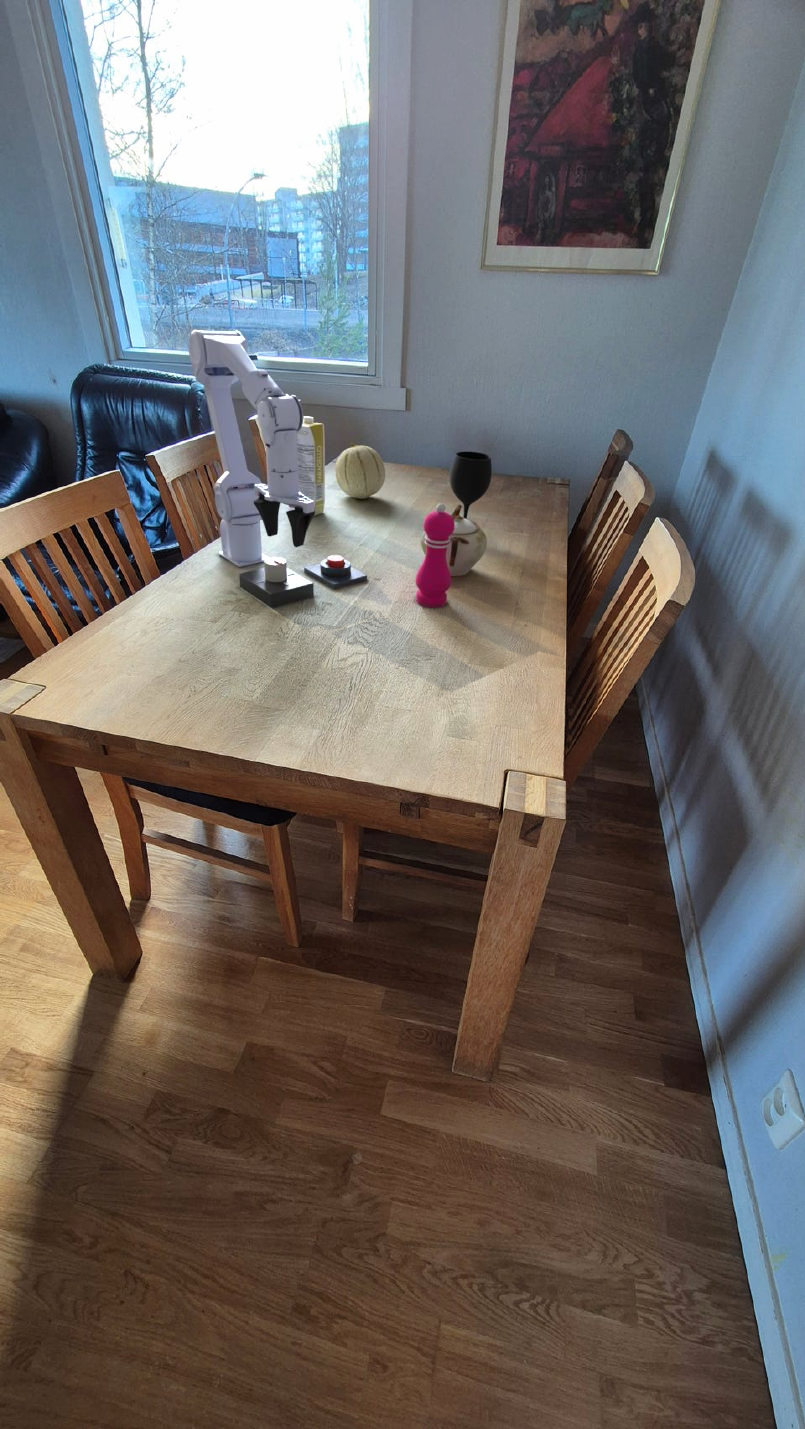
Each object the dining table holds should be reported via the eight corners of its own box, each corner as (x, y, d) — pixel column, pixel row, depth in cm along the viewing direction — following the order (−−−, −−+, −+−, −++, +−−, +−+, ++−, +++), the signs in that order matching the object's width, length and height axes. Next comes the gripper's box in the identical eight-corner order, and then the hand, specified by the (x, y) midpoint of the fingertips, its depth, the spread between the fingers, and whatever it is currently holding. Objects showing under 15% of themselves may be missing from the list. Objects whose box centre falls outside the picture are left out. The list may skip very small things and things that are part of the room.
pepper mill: (452, 597, 130) (464, 502, 118) (443, 611, 124) (454, 512, 113) (419, 591, 131) (428, 496, 120) (409, 604, 126) (417, 505, 114)
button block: (304, 572, 135) (303, 559, 134) (336, 564, 141) (336, 551, 139) (334, 589, 129) (334, 576, 127) (367, 580, 134) (367, 567, 133)
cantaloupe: (383, 506, 179) (385, 452, 170) (332, 502, 178) (332, 447, 170) (384, 492, 191) (387, 440, 182) (337, 488, 190) (338, 436, 182)
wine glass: (438, 537, 160) (446, 456, 149) (450, 526, 168) (459, 448, 157) (476, 544, 158) (487, 463, 146) (486, 533, 166) (498, 454, 154)
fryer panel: (240, 587, 127) (238, 572, 125) (281, 577, 133) (280, 563, 131) (271, 608, 120) (270, 593, 118) (313, 596, 126) (313, 582, 124)
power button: (323, 563, 133) (323, 557, 132) (337, 560, 135) (337, 553, 135) (333, 569, 131) (333, 562, 130) (347, 565, 133) (347, 559, 132)
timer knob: (260, 576, 124) (259, 558, 122) (279, 572, 127) (278, 554, 125) (272, 584, 122) (271, 565, 120) (291, 579, 124) (290, 560, 122)
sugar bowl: (483, 589, 135) (494, 521, 126) (415, 583, 135) (421, 514, 126) (481, 557, 151) (490, 494, 142) (420, 551, 151) (426, 488, 142)
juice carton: (328, 512, 171) (328, 418, 157) (310, 519, 165) (308, 422, 151) (302, 505, 174) (300, 412, 161) (283, 511, 169) (280, 416, 155)
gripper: (239, 463, 115) (245, 535, 123) (293, 480, 108) (295, 555, 116) (268, 458, 119) (272, 527, 127) (322, 474, 112) (322, 546, 120)
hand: (285, 540), depth 122 cm, fingers open, 7 cm apart
